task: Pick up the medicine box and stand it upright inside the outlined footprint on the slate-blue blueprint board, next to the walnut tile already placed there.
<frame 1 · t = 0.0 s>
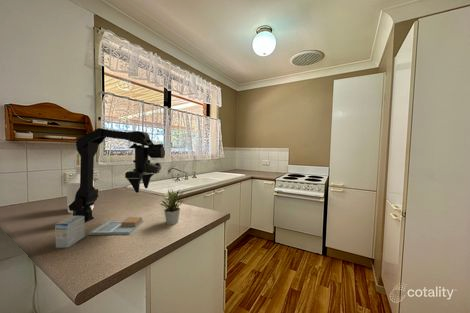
hand: (142, 190, 90), 15 cm above the worktop, fingers open, 9 cm apart
medicine box: (71, 242, 69), on the worktop
bottle: (81, 210, 105), on the worktop
blueprint board: (118, 228, 81), on the worktop
house plant: (175, 223, 88), on the worktop
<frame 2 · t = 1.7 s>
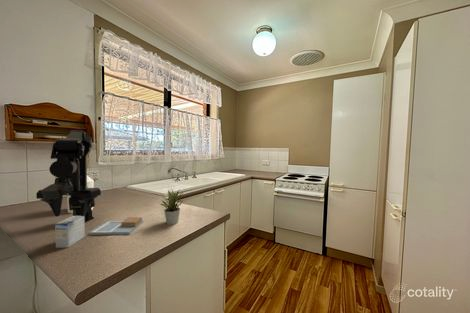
hand: (70, 216, 69), 10 cm above the worktop, fingers open, 9 cm apart
nothing on the worktop moved.
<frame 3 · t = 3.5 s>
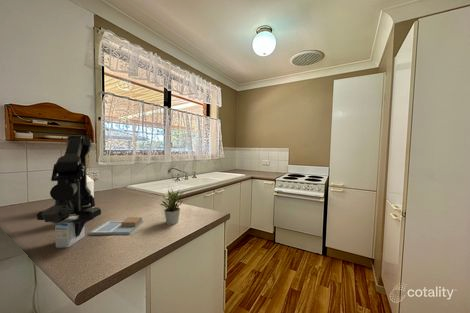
hand: (70, 236, 69), 2 cm above the worktop, fingers closed on medicine box, 4 cm apart
medicine box: (71, 242, 69), on the worktop, touching gripper
everything else where it was.
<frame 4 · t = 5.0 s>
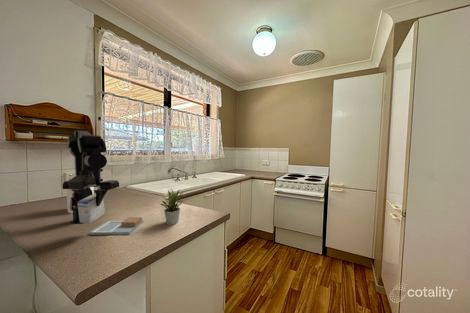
hand: (92, 205, 74), 12 cm above the worktop, fingers closed on medicine box, 4 cm apart
medicine box: (93, 218, 75), point 6 cm above the worktop, touching gripper
everything else where it was.
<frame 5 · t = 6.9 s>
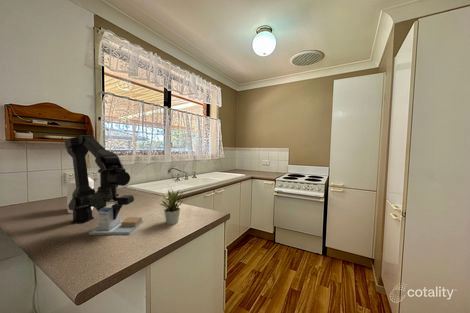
hand: (109, 219, 80), 4 cm above the worktop, fingers closed on medicine box, 4 cm apart
medicine box: (109, 227, 80), point 1 cm above the worktop, touching blueprint board, gripper
everything else where it was.
when the fingers open (4 cm above the worktop, at t = 7.5 s): medicine box stays where it is, resting on blueprint board.
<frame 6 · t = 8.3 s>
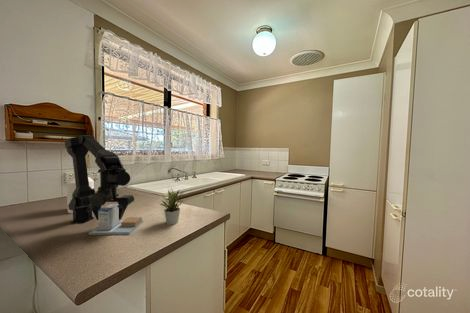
hand: (109, 219, 80), 4 cm above the worktop, fingers open, 9 cm apart
medicine box: (109, 227, 80), point 1 cm above the worktop, touching blueprint board
everything else where it was.
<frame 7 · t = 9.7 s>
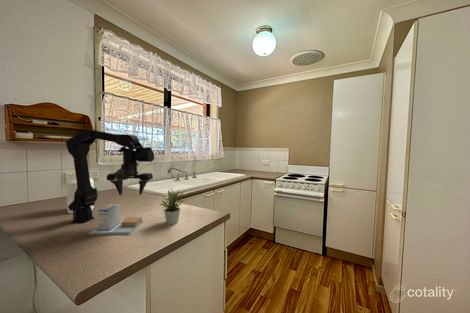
hand: (130, 194, 88), 13 cm above the worktop, fingers open, 9 cm apart
nothing on the worktop moved.
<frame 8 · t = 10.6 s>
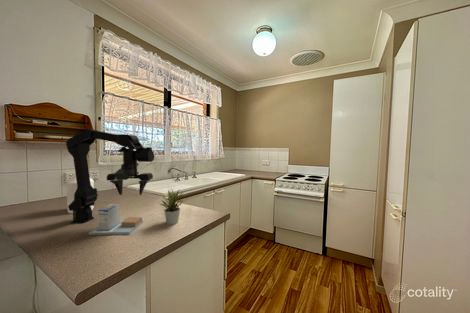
hand: (130, 194, 88), 13 cm above the worktop, fingers open, 9 cm apart
nothing on the worktop moved.
at the end: medicine box 0.5 cm from the target spot, point 0.8 cm above the worktop; medicine box tilted 0°; the gripper is holding nothing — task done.
